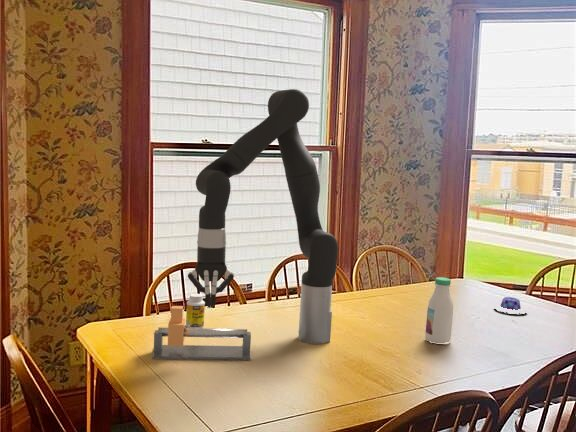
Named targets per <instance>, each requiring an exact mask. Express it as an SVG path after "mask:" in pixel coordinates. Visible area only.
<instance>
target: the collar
mask: <svg viewBox="0 0 576 432" xmlns="http://www.w3.org/2000/svg"><path fill="white" fill-rule="evenodd" d="M170 310H171V311H170V318H169V321H168V325H167V328H168V337H167V345H168V346H169V347H183V345H184V343H185V337H183V332H184V328H186V327H185V326H186V317H185V318H184V317H183V316H184V305H172V306H171V308H170Z"/></svg>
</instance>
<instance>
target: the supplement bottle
mask: <svg viewBox="0 0 576 432" xmlns="http://www.w3.org/2000/svg"><path fill="white" fill-rule="evenodd" d="M203 299H204V298H203V294H201V293H191V294H189V299H188V300H187V301H186V313H185V314H186V315H185V316H186V317H185V326H186V328H204V325H205V307H206V305H205V300H203Z"/></svg>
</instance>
